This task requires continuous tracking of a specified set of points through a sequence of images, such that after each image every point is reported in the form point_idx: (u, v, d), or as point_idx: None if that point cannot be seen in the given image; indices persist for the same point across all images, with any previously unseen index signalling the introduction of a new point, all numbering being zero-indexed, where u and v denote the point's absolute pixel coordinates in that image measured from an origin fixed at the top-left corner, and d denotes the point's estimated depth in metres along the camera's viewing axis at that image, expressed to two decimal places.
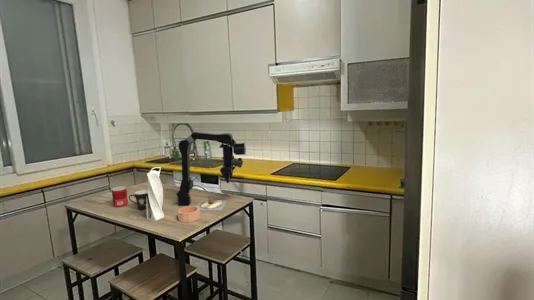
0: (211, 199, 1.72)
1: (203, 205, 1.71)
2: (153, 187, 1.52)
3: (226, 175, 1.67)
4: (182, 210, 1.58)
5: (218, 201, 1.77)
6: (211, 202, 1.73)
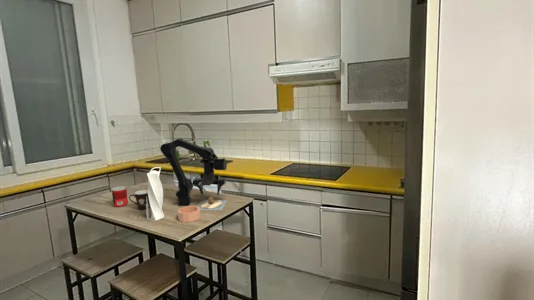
0: (211, 199, 1.72)
1: (203, 205, 1.71)
2: (153, 187, 1.52)
3: None
4: (182, 210, 1.58)
5: (218, 201, 1.77)
6: (211, 202, 1.73)
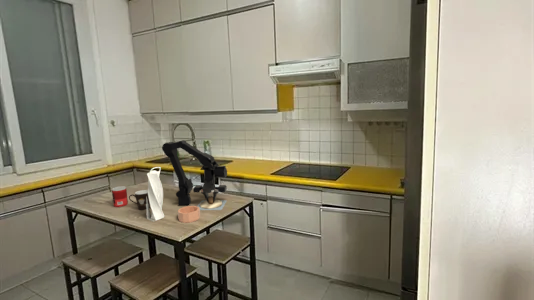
0: (211, 199, 1.72)
1: (203, 205, 1.71)
2: (153, 187, 1.52)
3: None
4: (182, 210, 1.58)
5: (218, 201, 1.77)
6: (211, 202, 1.73)
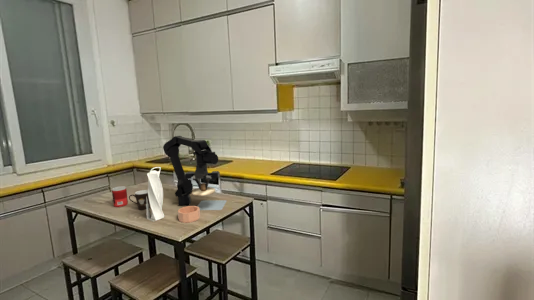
0: (203, 186, 1.65)
1: (195, 192, 1.63)
2: (153, 187, 1.52)
3: None
4: (182, 210, 1.58)
5: (211, 188, 1.70)
6: (203, 189, 1.65)
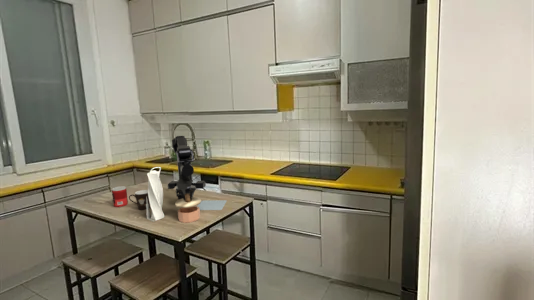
0: (188, 196, 1.53)
1: (179, 203, 1.51)
2: (153, 187, 1.52)
3: None
4: (182, 210, 1.58)
5: (196, 199, 1.58)
6: (188, 200, 1.53)
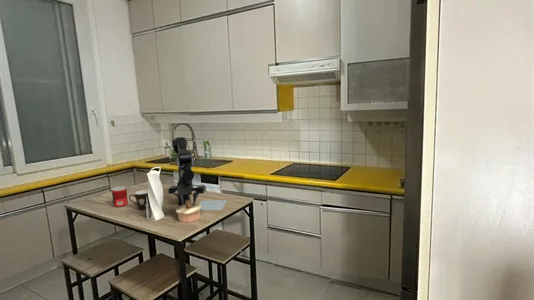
0: (188, 203, 1.53)
1: (179, 210, 1.52)
2: (153, 187, 1.52)
3: None
4: None
5: (197, 205, 1.58)
6: (188, 206, 1.54)
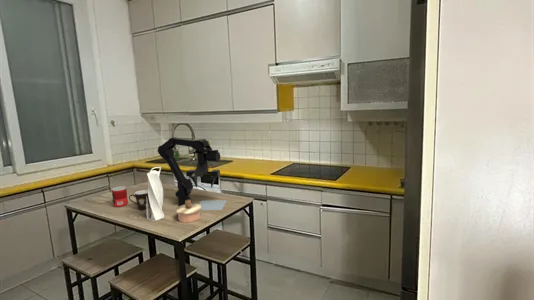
0: (188, 203, 1.53)
1: (179, 210, 1.52)
2: (153, 187, 1.52)
3: None
4: None
5: (197, 205, 1.58)
6: (188, 206, 1.54)
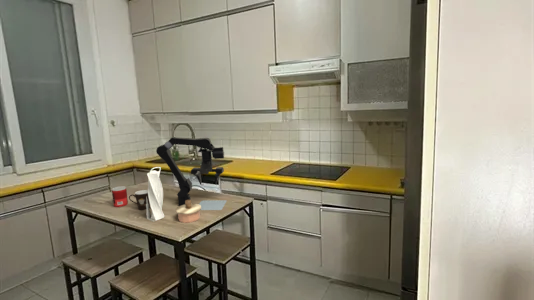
0: (188, 203, 1.53)
1: (179, 210, 1.52)
2: (153, 187, 1.52)
3: None
4: None
5: (197, 205, 1.58)
6: (188, 206, 1.54)
